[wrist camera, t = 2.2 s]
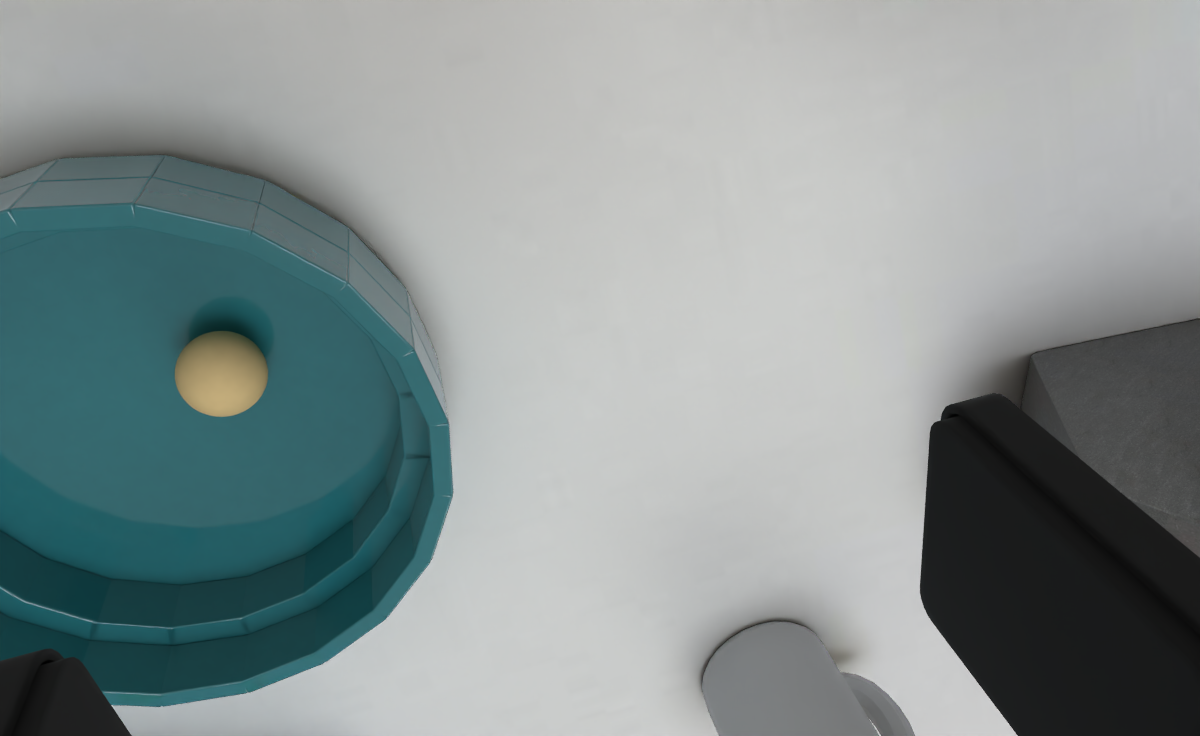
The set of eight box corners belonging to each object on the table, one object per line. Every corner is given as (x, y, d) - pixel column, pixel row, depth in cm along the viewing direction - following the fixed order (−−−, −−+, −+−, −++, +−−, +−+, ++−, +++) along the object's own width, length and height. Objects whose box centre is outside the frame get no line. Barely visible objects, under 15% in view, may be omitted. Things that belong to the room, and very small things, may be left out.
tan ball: (206, 301, 31) (194, 340, 29) (286, 341, 32) (281, 381, 30) (167, 366, 32) (151, 410, 29) (246, 402, 33) (237, 446, 31)
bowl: (7, 24, 26) (-66, 58, 22) (532, 326, 35) (560, 396, 31) (-223, 496, 31) (-322, 605, 27) (288, 655, 40) (279, 757, 36)
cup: (712, 622, 46) (783, 770, 39) (880, 609, 49) (977, 744, 41) (687, 718, 49) (748, 871, 42) (845, 701, 52) (929, 842, 45)
